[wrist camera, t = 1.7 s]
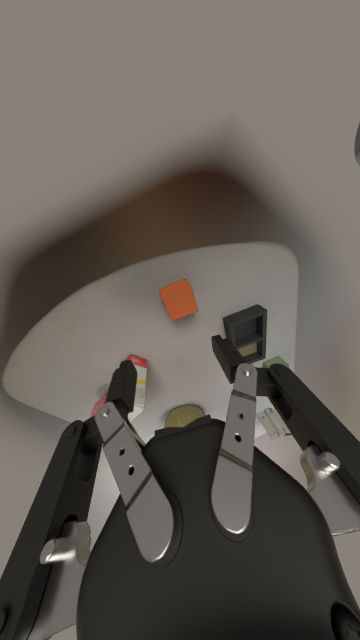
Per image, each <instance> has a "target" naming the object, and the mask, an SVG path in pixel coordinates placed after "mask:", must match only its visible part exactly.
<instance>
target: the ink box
mask: <svg viewBox="0 0 360 640" xmlns="http://www.w3.org/2000/svg"><path fill="white" fill-rule="evenodd" d="M129 359H130V360H131V361H132V363H133V365H134V366H135V368H136V370H137V384H136V393H135V401H134V410H133V412H131V413H128V419H129V421H130V422H131V421H132V420H134V419H135V418H136V417H137V416H138V415H139V414H140V413H141V412H142V411H143V410H144V407H145V390H146V374H147V360H145V359H142V358H139V357H137V356H133V355H130V356H129V358H128V359H127V360H129Z"/></svg>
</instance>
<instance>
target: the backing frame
mask: <svg viewBox="0 0 360 640" xmlns="http://www.w3.org/2000/svg"><path fill="white" fill-rule="evenodd" d="M223 321H224V327H225V332H226V337H227V339H228V340H230V341H231V342H232V343H233V345H234V346H235V347H236V349H237V350H238V351H239V353H240V354H241V355H242V357H243V358H244V359H245V361H246V362H247V363H248V364H251V363H254V362H256V361H259V360H262V359H265V355H266V327H267V310H266V309H264V308H263V307H261V306H260V305H255V306H253V307H250V308H247V309H245V310H242V311H240V312H237V313H234V314H232V315H229V316H226V317H224V318H223Z"/></svg>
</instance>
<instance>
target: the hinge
mask: <svg viewBox="0 0 360 640" xmlns="http://www.w3.org/2000/svg"><path fill="white" fill-rule="evenodd" d="M257 416H258V418H259V419H260V421H261V423H262V425H263V426H264V428H265V430H266V431H267V433H268V435H269V436H270V438H271V439H272V440H273V439H276V438H279V437H281V436H291V435H292V434H291V432H290V431H289V429H288V428H287V426H286V424H285V423H284V421H283V420H282V418H281V417H280V415H279V414H278V412H277V411H276V409H275V408H270V409H265V410H264V412H262V413H259V414H257ZM262 417H264V419H262ZM268 418H269V419H268ZM269 420H270V421H271V422H270V421H269ZM271 423H272V424H273V425H272V424H271ZM273 426H274V427H273ZM275 429H276V430H275ZM276 431H277V432H276ZM271 432H273V433H274V434H271Z"/></svg>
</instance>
